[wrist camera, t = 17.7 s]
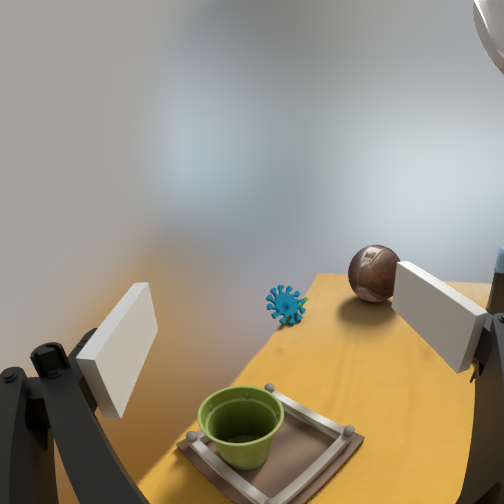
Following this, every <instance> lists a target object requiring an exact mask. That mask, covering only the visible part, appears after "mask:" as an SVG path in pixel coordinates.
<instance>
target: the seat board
mask: <svg viewBox="0 0 504 504" xmlns="http://www.w3.org/2000/svg"><path fill="white" fill-rule="evenodd" d="M265 390H266V391H269V392H270V393H272V394H273V395H275V396H276V397H277V398H278V399H279V401H280V402H281V404H282V406H283V410H284V419H283V422H282V425H281V426H280V428H279V429H278V431H277V432H276V433H275V434H274V437H273V441H272V445H271V449H270V453H269V457H268V459H267V460H266V461H265V462H264V463H263V464H262V465H261V466H259V467H257V468H255V469H251V470H239V469H235V468H233V467H232V466H230V465H228V464H227V463H226V462H225V461H224V459H223V458H222V456H221V454H220V452H219V451H218V449H217V447H216V445H215V444H214V442H213V441H212V440H211V439H210V438H208V437H207V436H206V435H205V434H204V433H203V431H202V430H199V431H198V432H196V433H195V432H194V431H189V432H187V433H186V439H184V440H182V441H180V442H178V443H177V444H176V445H177V447H178V449H179V450H180V451H181V452H182V453H183V454H184V455H185V456H186V457H187V458H188V459H189V461H190V462H191V463H192V464H193V465H194V466H195V467H196V468H197V469H198V470H199V471H200V472H201V473H202V474H203V475H204V476H205V477H206V478H207V479H208V480H209V481H210V482H212V483H213V484H214V485H215V486H216V487H217V488H218V489H219V490H220V491H221V492H222V493H223V494H225V495H226V496H227V497H228V498H229V499H230V500H231V501H233V502H234V503H235V504H305V503H306V502H307V501H308V500H309V499H310V498H312V497H313V496H314V495H315V494H316V493H317V492H318V491H319V490H320V489H321V488H322V487H323V486H324V485H325V484H326V483H327V482H328V481H329V480H330V479H331V478H332V477H333V475H334V474H335V473H336V472H337V471H338V470H339V469H340V468H341V467H342V466H343V465H344V463H345V462H346V461H347V460H348V459H349V458H350V457H351V455H352V454H353V453H354V452H355V451H356V450H357V448H358V447H359V446H360V445H361V443H362V442H363V441H364V438H365V437H364V436H361V435H359V434H357V433H355V432H354V430H355V429H354V427H353V426H350V425H348V426H346V427H343V426H341V425H339V424H337V423H335V422H333V421H331V420H329V419H327V418H325V417H323V416H321V415H319V414H317V413H316V412H314V411H312V410H310V409H308V408H306V407H304V406H302V405H301V404H299V403H297V402H295V401H293V400H292V399H290V398H288V397H286V396H284V395H283V394H281V393H279V392H278V391H276V390H274V385H273V384H266V385H265ZM239 440H249V438H241V439H239Z"/></svg>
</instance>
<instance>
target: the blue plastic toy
mask: <svg viewBox="0 0 504 504" xmlns="http://www.w3.org/2000/svg"><path fill="white" fill-rule="evenodd" d="M283 288H284V286H283V285H279V286H278V290H279V295H277V294H276V288H273V289H271V290H270V292H271V293H272V294H273V295H274V297H275V300H274V299H273V298H272V295H270V294H269V295H268V296H267V298H266V300H268V301H271V302H272V303H273V304H274V305H275V306H273V305H272V304H270V303H269V304H268V305H267V310H271V309H274V310H276V312H274V313H273V314H272V317H273V319H275V318H276V317H277V316H278V315H283V316H284V318H282V319H280V321H279V322H280V323H282V324H284V323H286V318H287V317H288V316H289V317H290V318H291V319H290V320H289V324H291V325H293V324H295V320H294V314H295V315H296V320H297V321H299V320H301V319H302V316H301V315H300V314H299V313H298V310H297V309H299V311H300V313H301V314H303V313H304V312H305V310H306V309H305V308H302V306H303V304H304V303H305V302H306V301H307V300H308V299H307V298H306V297H304V298H303V299H301V300H297V299H295V298H294V296H295V297H298V296H299V295H300V293H299V292H298V291H296V292H295V293H294V294H289V293H288V292H290V291H291V290H292V287H290V286H288V287H287V288H286V292H285V293H283V292H282V289H283Z"/></svg>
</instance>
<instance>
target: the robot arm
mask: <svg viewBox="0 0 504 504" xmlns="http://www.w3.org/2000/svg"><path fill="white" fill-rule="evenodd" d="M473 15H474V22H475V25H476V29H477V32H478V35H479V37H480V40H481V41H482V44H483V46H484V48H485V49H486V51H487V53H488V54H489V56H490V57H491V59H492V60H493V62H494V63H495V65H496V66H497V67H498V68H499V69H500V71H501V72H502V73H503V74H504V0H474V5H473ZM494 271H495V273H494V278H493V282H492V287H491V291H490V296H489V300H488V304H487V308H486V310H484V309H483V308H481V307H480V306H478V305H477V304H476V303H474V302H473V301H471V300H470V299H468V298H466V297H465V296H463V295H462V294H460V293H459V292H457V291H456V290H454V289H453V288H451V287H450V286H448V285H446V284H445V283H443V282H442V281H440V280H438V279H437V278H435V277H433V276H432V275H430V274H429V273H427V272H425V271H424V270H422V269H420V268H419V267H417V266H415V265H414V264H412V263H410V262H409V261H404V262H397V266H396V276H395V285H394V293H393V300H392V307H391V308H392V309H394V310H395V311H396V312H397V313H398V314H399V315H400V316H401V317H402V318H403V319H404V320H405V321H406V322H407V323H408V324H409V325H410V326H411V327H412V328H413V329H414V330H415V331H416V332H417V333H418V334H419V335H420V336H421V337H422V338H423V339H424V340H425V341H426V342H427V343H428V344H429V345H430V346H431V347H432V348H433V349H434V350H435V351H436V352H437V353H438V354H439V355H440V356H441V357H442V358H443V359H444V360H445V361H446V362H447V364H448V365H449V366H450V367H451V368H452V369H453V370H454V371H455V372H456V373H457V374H458V373H461V372H463V371H465V370H468V369H469V368H470V365H471V363H472V360H474V361H475V362H476V363H477V365H476V368H475V370H474V372H473V375H472V377H471V380H470V383H472V381H473V379H475V405H474V419H473V429H472V438H471V445H470V452H469V458H468V463H467V469H466V473H465V478H464V483H463V487H462V491H461V494H460V496H459V498H458V500H457V502H456V503H455V504H504V245H503V246H502V247H501V248H500V249H499V252H498V256H497V261H496V265H495V267H494ZM157 331H158V327H157V323H156V318H155V314H154V309H153V304H152V299H151V294H150V289H149V284H148V282H147V283H134V284H133V286H132V287H131V288H130V289H129V290H128V292H127V293H126V294H125V295H124V296H123V298H122V299H121V300H120V301H119V303H118V304H117V305H116V306H115V308H114V309H113V310H112V311H111V313H110V314H109V315H108V316H107V318H106V319H105V320H104V321H103V323H102V324H101V325H100V326H99V328H94V329H92V330H91V331H89V332H88V333H86V334H85V335H84V337H83V338H82V339H81V341H80V342H79V343H78V344H77V345H76V347H75V348H74V349H73V351H72V352H71V353H70V354H69V356H68V357H67V356H66V354H65V351H64V349H63V347H62V345H61V344H59V343H55V342H51V343H46V344H43V345H41V346H39V347H37V348H36V349H35V350H34V351H33V352H32V353H31V356H30V358H31V361H32V363H33V365H34V367H35V369H36V371H37V373H38V375H39V377H30V378H27V376H26V374H25V372H24V370H23V369H22V368H20V367H11V368H7V369H5V370H4V371H3V372H2V373H1V374H0V504H59V502H58V494H57V487H56V475H55V461H54V438H55V442H56V445H57V448H58V451H59V454H60V456H61V459H62V462H63V465H64V467H65V470H66V473H67V475H68V477H69V480H70V482H71V485H72V487H73V489H74V492H75V494H76V496H77V498H78V500H79V502H80V504H150V503H149V502H148V500H147V499H146V498H145V496H144V495H143V494H142V492H141V491H140V489H139V488H138V487H137V485H136V484H135V482H134V481H133V479H132V478H131V477H130V475H129V473H128V472H127V470H126V469H125V467H124V466H123V464H122V462H121V461H120V459H119V458H118V456H117V454H116V452H115V451H114V449H113V447H112V446H111V444H110V442H109V440H108V439H107V437H106V435H105V433H104V431H103V429H102V428H101V425H100V423H99V422H98V420H97V418H96V416H95V414H94V412H95V410H96V408H97V406H98V408H99V410H100V411H101V413H102V415H103V416H104V417H109V418H117V419H121V418H122V415H123V413H124V410H125V408H126V405H127V402H128V400H129V398H130V395H131V393H132V390H133V388H134V385H135V383H136V380H137V378H138V375H139V373H140V371H141V368H142V366H143V364H144V361H145V359H146V357H147V354H148V352H149V349H150V347H151V345H152V343H153V340H154V338H155V336H156V333H157Z"/></svg>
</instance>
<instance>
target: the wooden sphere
mask: <svg viewBox="0 0 504 504" xmlns="http://www.w3.org/2000/svg"><path fill="white" fill-rule="evenodd" d="M397 262H401V261H400V259H399V258H398V256H397V255H396V254H395V253H394V252H393V251H392V250H391V249H389V248H387V247H385V246H381V245H372V246H367V247H365V248H363V249H361V250H360V251H359V252H358V253H357V254H356V255H355V256H354V257H353V259H352V261H351V263H350V266H349V270H348V278H349V283H350V285H351V288H352V289H353V291H354V292H355V293H356V294H357V295H358V296H359V297H360V298H362V299H363V300H366V301H369V302H382V301H385V300H387V299H389V298H390V297H392V296H393V293H394V285H395V276H396V266H397Z"/></svg>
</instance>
